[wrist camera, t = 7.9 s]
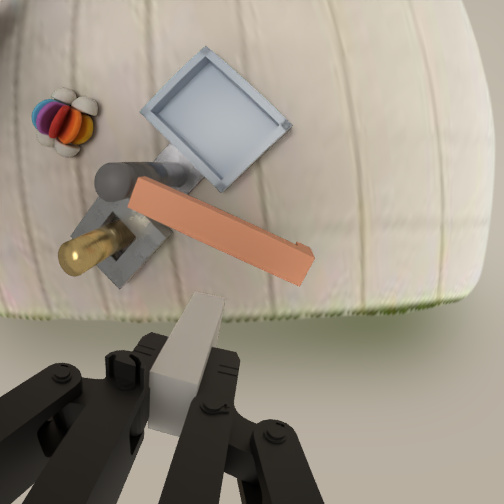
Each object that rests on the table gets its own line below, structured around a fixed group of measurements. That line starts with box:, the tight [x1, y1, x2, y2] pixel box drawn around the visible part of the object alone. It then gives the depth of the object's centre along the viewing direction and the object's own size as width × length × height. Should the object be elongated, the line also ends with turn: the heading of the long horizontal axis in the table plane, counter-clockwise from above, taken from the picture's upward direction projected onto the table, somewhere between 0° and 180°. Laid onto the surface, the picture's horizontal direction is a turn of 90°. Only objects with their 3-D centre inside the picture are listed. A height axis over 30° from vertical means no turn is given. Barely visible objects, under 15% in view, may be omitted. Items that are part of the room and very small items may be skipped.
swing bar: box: [95, 163, 315, 287], centre depth 24 cm, size 3×18×3 cm, turn 65°
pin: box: [58, 219, 135, 276], centre depth 35 cm, size 4×4×13 cm
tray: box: [140, 46, 292, 193], centre depth 35 cm, size 14×11×3 cm
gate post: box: [121, 143, 205, 199], centre depth 31 cm, size 6×6×16 cm
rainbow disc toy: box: [32, 87, 98, 158], centre depth 34 cm, size 8×10×7 cm
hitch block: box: [71, 197, 173, 289], centre depth 39 cm, size 10×10×3 cm
